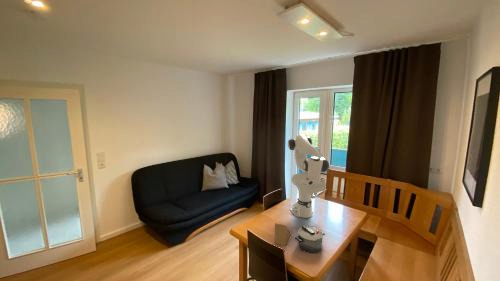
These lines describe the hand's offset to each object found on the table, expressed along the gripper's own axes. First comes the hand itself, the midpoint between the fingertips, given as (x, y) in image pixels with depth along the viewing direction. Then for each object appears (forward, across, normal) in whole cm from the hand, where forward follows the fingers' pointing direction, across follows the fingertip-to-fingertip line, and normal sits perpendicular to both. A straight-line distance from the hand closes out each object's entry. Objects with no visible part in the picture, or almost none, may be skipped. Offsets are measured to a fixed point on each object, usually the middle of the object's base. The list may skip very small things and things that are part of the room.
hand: (313, 198), depth 151 cm
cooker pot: (+31, +7, +7) cm, 33 cm away
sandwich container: (+32, +19, -8) cm, 38 cm away
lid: (+22, +7, +7) cm, 24 cm away
